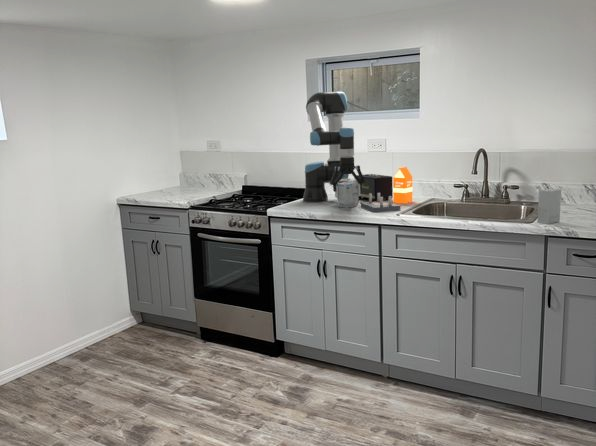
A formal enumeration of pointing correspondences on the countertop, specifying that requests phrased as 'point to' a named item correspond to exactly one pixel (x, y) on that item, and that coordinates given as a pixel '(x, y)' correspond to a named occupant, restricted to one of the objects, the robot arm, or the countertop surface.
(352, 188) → the light bulb box
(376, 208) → the pin tray
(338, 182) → the tea box
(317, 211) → the countertop surface
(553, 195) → the skincare box
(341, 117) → the robot arm
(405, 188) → the orange juice
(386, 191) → the speaker
